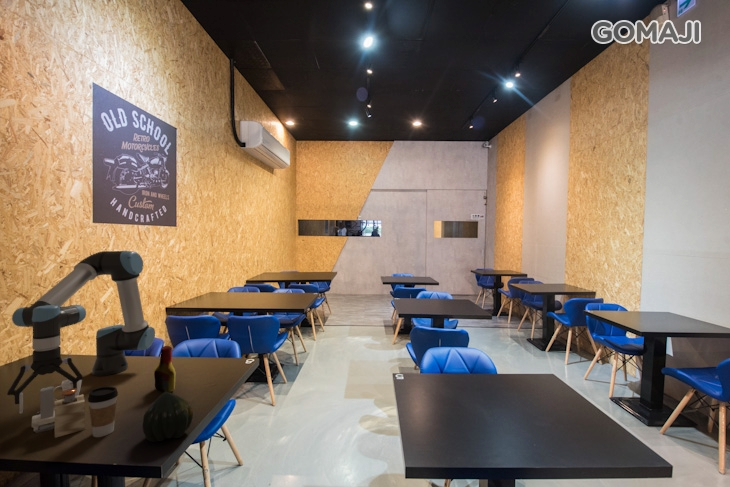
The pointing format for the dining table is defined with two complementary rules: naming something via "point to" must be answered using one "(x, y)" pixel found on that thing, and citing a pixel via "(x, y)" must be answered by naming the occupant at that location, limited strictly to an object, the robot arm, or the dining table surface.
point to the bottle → (165, 371)
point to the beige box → (69, 416)
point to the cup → (66, 385)
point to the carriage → (45, 408)
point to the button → (69, 395)
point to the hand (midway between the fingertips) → (47, 405)
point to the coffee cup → (102, 410)
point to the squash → (167, 417)
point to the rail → (45, 426)
